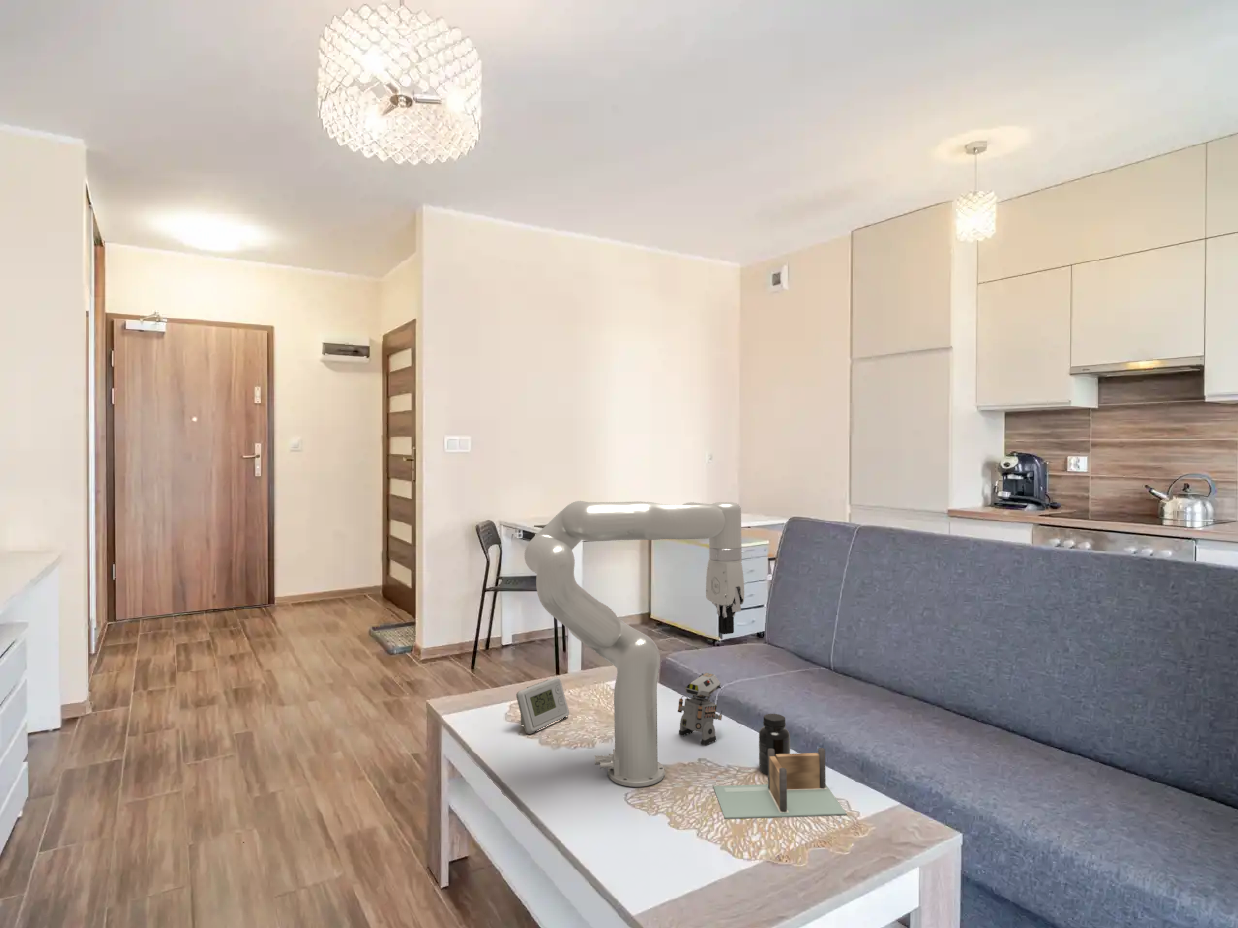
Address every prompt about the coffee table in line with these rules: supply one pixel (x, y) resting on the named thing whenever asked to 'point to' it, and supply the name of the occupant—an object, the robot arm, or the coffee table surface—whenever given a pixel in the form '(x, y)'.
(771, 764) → the panel
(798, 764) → the fence fixed panel
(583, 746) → the coffee table surface
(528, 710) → the digital clock
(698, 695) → the figurine
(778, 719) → the supplement bottle
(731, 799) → the board
